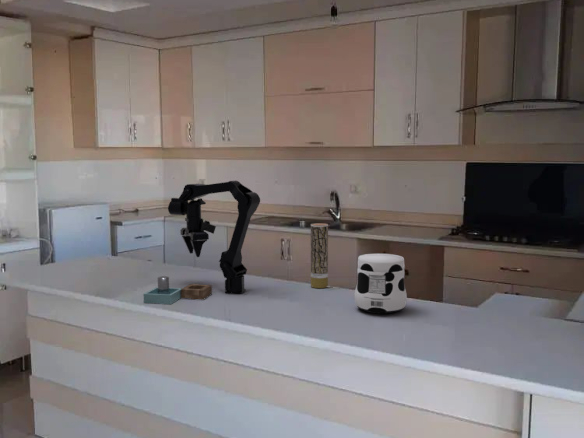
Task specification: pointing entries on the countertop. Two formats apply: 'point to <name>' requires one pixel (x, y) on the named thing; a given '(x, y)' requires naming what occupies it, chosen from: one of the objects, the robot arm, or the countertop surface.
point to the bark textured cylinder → (319, 255)
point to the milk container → (380, 283)
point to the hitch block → (196, 291)
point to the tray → (162, 296)
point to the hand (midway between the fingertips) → (194, 255)
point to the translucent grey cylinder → (163, 285)
